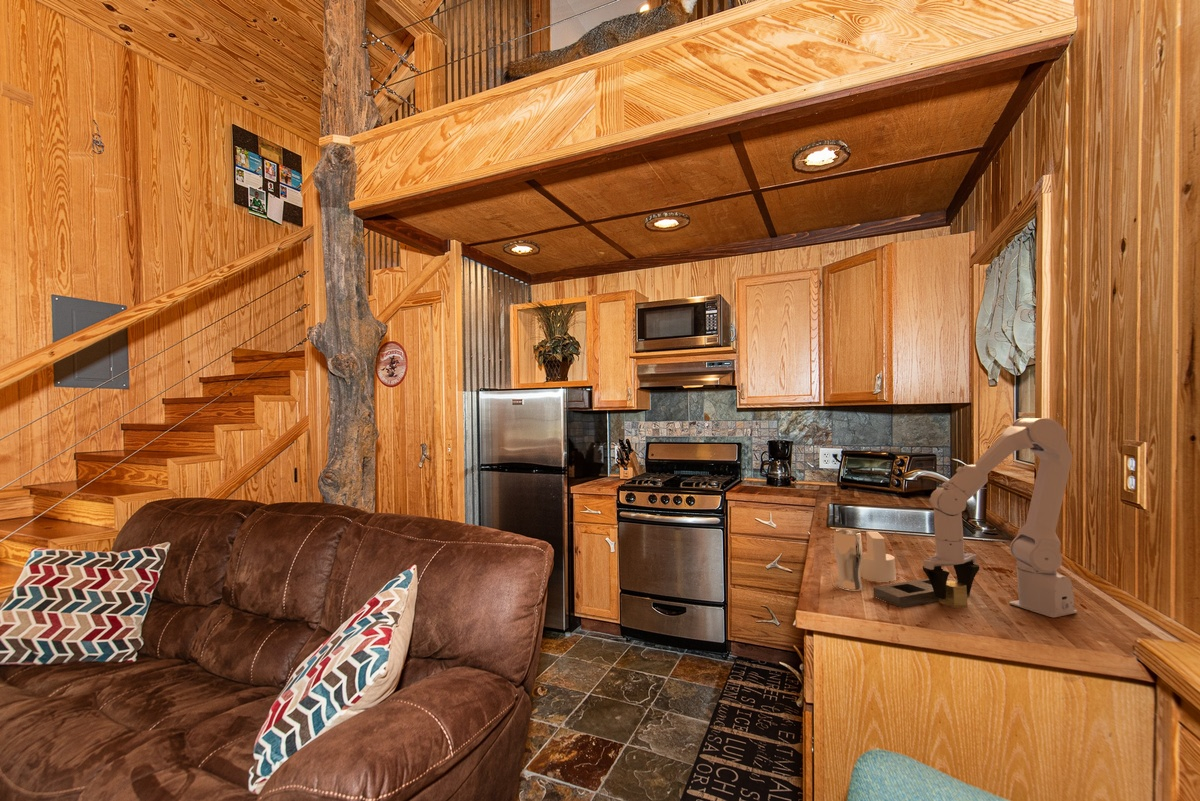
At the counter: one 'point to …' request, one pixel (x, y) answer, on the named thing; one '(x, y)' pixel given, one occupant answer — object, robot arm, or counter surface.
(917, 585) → the grey slotted board
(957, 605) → the golden brown block
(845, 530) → the beer glass
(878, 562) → the cylinder with rectangular tab
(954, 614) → the counter surface
